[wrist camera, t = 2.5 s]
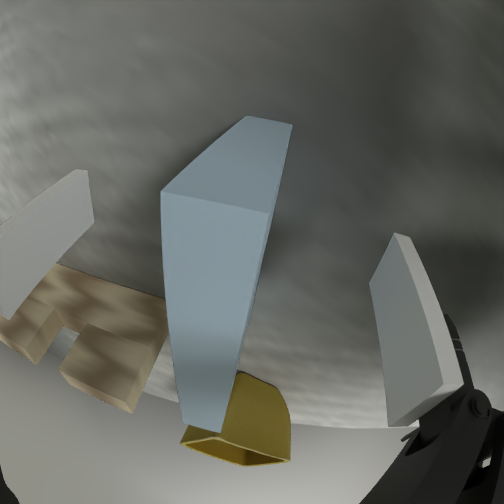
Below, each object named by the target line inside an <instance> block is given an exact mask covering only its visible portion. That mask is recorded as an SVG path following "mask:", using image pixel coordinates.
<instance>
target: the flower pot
mask: <svg viewBox="0 0 504 504" xmlns="http://www.w3.org/2000/svg"><path fill="white" fill-rule="evenodd" d="M290 441H291V424H290V415H289V411H288V408H287V405H286V403H285V401H284V399H283V397H282V395H281V393H280V392H279V390H278V389H277V388H275V387H273V386H271V385H269V384H266V383H264V382H262V381H260V380H258V379H256V378H254V377H252V376H250V375H248V374H246V373H239V374H237V375H235V379H234V383H233V387H232V391H231V395H230V399H229V403H228V406H227V410H226V414H225V418H224V422H223V426H222V429H221V433H218V432H214V431H210V430H206V429H202V428H199V427H195V426H192V425H189V426H188V427H187V430H186V432H185V434H184V436H183V438H182V440H181V442H180V444H181V445H183V446H185V447H188V448H190V449H193V450H195V451H197V452H200V453H203V454H206V455H209V456H212V457H214V458H217V459H221V460H223V461H227V462H230V463H233V464H237V465H240V466H246V467H247V466H260V465H269V464H278V463H285V462H289V461H290V444H291V442H290Z"/></svg>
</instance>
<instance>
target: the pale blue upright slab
mask: <svg viewBox="0 0 504 504" xmlns="http://www.w3.org/2000/svg"><path fill="white" fill-rule="evenodd" d="M292 126H293V124H288V123H283V122H279V121H274V120H269V119H263V118H258V117H252V116H245V117H244V118H243V119H241V120H240V121H239V122H238V123H236V124H235V125H234V126H233V127H231V128H230V129H229V130H228V131H227V132H225V133H224V134H223V135H222V136H221V137H219V138H218V139H217V140H216V141H215V142H214V143H212V144H211V145H210V146H209V147H208V148H207V149H206V150H204V151H203V152H202V153H201V154H200V155H199V156H198V157H196V158H195V159H194V160H193V161H192V162H191V163H190V164H189V165H188V166H187V167H185V168H184V169H183V170H182V171H181V172H180V173H179V174H178V175H177V176H176V177H175V178H174V179H173V180H172V181H171V182H170V183H169V184H167V185H166V186H165V187H164V188H163V189H162V190H161V191H160V198H161V236H162V256H163V272H164V286H165V297H166V308H167V318H168V327H169V336H170V344H171V352H172V359H173V366H174V373H175V379H176V385H177V391H178V397H179V403H180V408H181V414H182V419H183V423H185V424H188V425H192V426H195V427H199V428H202V429H206V430H210V431H214V432H218V433H221V429H222V426H223V422H224V418H225V414H226V410H227V406H228V403H229V399H230V395H231V391H232V387H233V383H234V379H235V375H236V371H237V367H238V363H239V359H240V356H241V352H242V348H243V344H244V340H245V336H246V332H247V328H248V324H249V319H250V315H251V311H252V306H253V302H254V298H255V294H256V289H257V285H258V281H259V276H260V272H261V264H262V260H263V256H264V251H265V247H266V243H267V239H268V235H269V231H270V227H271V223H272V218H273V214H274V209H275V205H276V200H277V196H278V191H279V187H280V182H281V177H282V173H283V168H284V164H285V159H286V154H287V150H288V145H289V140H290V135H291V131H292Z"/></svg>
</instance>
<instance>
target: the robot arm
mask: <svg viewBox="0 0 504 504" xmlns="http://www.w3.org/2000/svg"><path fill="white" fill-rule="evenodd" d="M94 223H95V221H94V215H93V208H92V201H91V194H90V186H89V177H88V170H80V169H75V170H73V171H72V172H70V173H69V174H67V175H66V176H64V177H63V178H62V179H60V180H59V181H57V182H56V183H54V184H53V185H51V186H50V187H49V188H47V189H46V190H45V191H43V192H42V193H40V194H39V195H38V196H36V197H35V198H34V199H32V200H31V201H30V202H29V203H27V204H26V205H25V206H23V207H22V208H21V209H20V210H18V211H17V212H16V213H15V214H14V215H12V216H11V217H10V218H9V219H8V220H6V221H5V222H4V223H3V224H2V225H1V226H0V315H2V316H3V317H5V318H6V319H8V320H10V318H11V317H12V316H13V314H14V313H15V312H16V310H17V309H18V308H19V307H20V305H21V304H22V303H23V301H24V300H25V299H26V298H27V296H28V295H29V294H30V293H31V291H32V290H33V289H34V288H35V286H36V285H37V284H38V283H39V282H40V281H41V279H42V278H43V277H44V276H45V275H46V274H47V272H48V271H49V270H50V269H51V268H52V267H53V266H54V264H55V263H56V262H57V261H58V260H59V259H60V258H61V257H62V256H63V255H64V253H65V252H66V251H67V250H68V249H69V248H70V247H71V246H72V245H73V244H74V243H75V242H76V241H77V240H78V239H79V238H80V237H81V236H82V235H83V234H84V233H85V232H86V231H87V230H88V229H89V228H90V227H91V226H92V225H93V224H94ZM369 287H370V292H371V297H372V302H373V307H374V313H375V319H376V324H377V331H378V337H379V343H380V350H381V358H382V366H383V374H384V383H385V393H386V404H387V418H388V427H402V426H409V425H410V424H412V423H413V422H415V421H416V420H418V419H419V425H420V427H419V428H417V429H416V430H414V431H412V432H411V433H409V434H407V435H406V436H405V437H403V438H402V439H401V441H402V442H403V441H405V440H407V439H409V438H410V439H409V440H408V442H407V443H406V445H405V446H404V448H403V449H402V451H401V452H400V453H399V455H398V456H397V458H396V459H395V460H394V462H393V463H392V464H391V466H390V467H389V468H388V470H387V471H386V472H385V474H384V475H383V476H382V477H381V479H380V480H379V481H378V482H377V484H376V485H375V486H374V487H373V488H372V490H371V491H370V492H369V493H368V494H367V495H366V497H365V498H364V499H363V500H362V501H361V502H360V503H359V504H504V411H503V412H502V411H499V410H497V409H494V408H492V406H491V403H490V401H489V399H488V397H487V396H486V395H485V394H484V393H483V392H482V391H480V390H477V389H474V386H473V382H472V378H471V374H470V371H469V367H468V364H467V360H466V357H465V354H464V352H463V351H462V350H463V348H462V344H461V341H459V339H460V338H459V336H458V333H457V330H456V327H455V325H454V324H453V322H452V321H451V319H450V318H449V317H448V315H446V314H442V311H441V308H440V305H439V303H438V300H437V298H436V295H435V293H434V290H433V288H432V285H431V283H430V280H429V278H428V276H427V273H426V271H425V269H424V266H423V264H422V262H421V260H420V257H419V255H418V253H417V251H416V249H415V247H414V245H413V243H412V241H411V238H410V237H408V236H404V235H401V234H397V233H394V234H393V236H392V238H391V240H390V242H389V245H388V247H387V249H386V251H385V253H384V255H383V257H382V259H381V261H380V263H379V265H378V267H377V269H376V271H375V273H374V275H373V277H372V278H371V280H370V282H369ZM490 457H491V461H490V465H489V466H486V467H484V468H483V467H482V464H483V461H484V460H486V459H488V458H490ZM0 504H19V501H18V499H17V498H16V497H15V495H14V493H12V491H11V490H10V489H9V488H8V487H7V485H6V484H5V481H4V478H3V475H2V471H1V466H0Z"/></svg>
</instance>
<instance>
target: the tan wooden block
mask: <svg viewBox="0 0 504 504" xmlns="http://www.w3.org/2000/svg"><path fill="white" fill-rule="evenodd" d="M62 326H65V327H67V328H69V329H72V330H74V331H76V332H78V333H80V335H79V336H78V338H77V339H76V341H75V342H74V344H73V346H72V347H71V349H70V351H69V352H68V354H67V355H66V357H65V359H64V360H63V362H62V364H61V366H60V367H59V369H58V370H59V371H60V373H61V374H62V375H63V377H64V378H65V379H66V380H67V382H68V383H69V384H70V385H72V386H74V387H76V388H78V389H80V390H81V391H83V392H86V393H88V394H89V395H91V396H94V397H96V398H98V399H100V400H102V401H104V402H106V403H108V404H111V405H113V406H115V407H117V408H120V409H122V410H125V411H127V412H129V413H133V412H134V409H135V407H136V404H137V402H138V400H139V397H140V395H141V393H142V390H143V388H144V386H145V384H146V381H147V379H148V377H149V374H150V372H151V370H152V368H153V365H154V363H155V361H156V359H157V356H158V354H159V352H160V350H161V348H162V345H163V343H164V341H165V339H166V337H167V334H168V332H169V327H168V318H167V308H166V299H163V298H159V297H156V296H152V295H149V294H146V293H143V292H139V291H136V290H133V289H130V288H127V287H124V286H120V285H117V284H114V283H111V282H108V281H105V280H102V279H99V278H96V277H94V276H91V275H88V274H85V273H82V272H79V271H77V270H74V269H71V268H68V267H66V266H63V265H60V264H58V263H55V264H54V266H53V267H52V268H51V269H50V270H49V271H48V272H47V274H46V275H45V276H44V277H43V278H42V279H41V281H40V282H39V283H38V284H37V285H36V286H35V288H34V289H33V290H32V291H31V293H30V294H29V295H28V296H27V298H26V299H25V300H24V301H23V303H22V304H21V305H20V307H19V308H18V309H17V310H16V312H15V313H14V314H13V316H12V317H11V318H10V320H8V319H6V318H5V317H3V316H2V315H0V340H1V341H2V342H4V343H5V344H6V345H8V346H9V347H11V348H12V349H13V350H15V351H16V352H18V353H19V354H21V355H22V356H24V357H25V358H27V359H28V360H30V361H32V362H33V363H35V364H36V365H38V363H39V362H40V360H41V358H42V357H43V355H44V354H45V352H46V350H47V349H48V347H49V346H50V344H51V343H52V341H53V340H54V338H55V337H56V335H57V334H58V332H59V331H60V329H61V328H62Z"/></svg>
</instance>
